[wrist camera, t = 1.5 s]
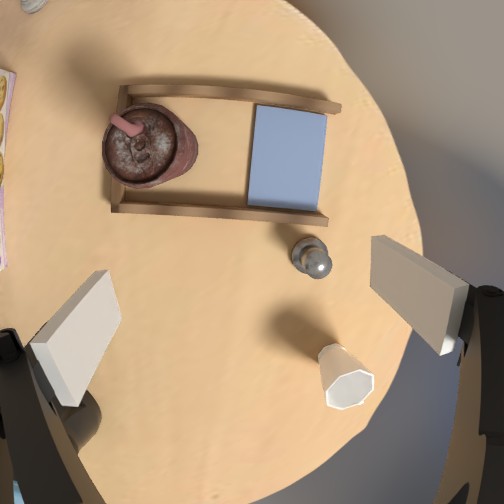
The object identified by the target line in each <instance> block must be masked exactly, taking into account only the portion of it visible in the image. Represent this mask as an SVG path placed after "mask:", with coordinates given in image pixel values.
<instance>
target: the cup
mask: <svg viewBox="0 0 504 504" xmlns="http://www.w3.org/2000/svg"><path fill="white" fill-rule="evenodd" d="M318 362H319V365H320V373H321V381H322V385H323V390H324V395H325V400H326V404H327V406H330V407H334V408H337V409H340V410H343V409H346V408H349V407H352V406H354V405H357V404H359V405H360V404H362V403H363V402H364V401H363V400H364V399H365V398H366V397H367V396H368V395H369V394H370V393H371V392H372V391H373V389H374V375H373V374H372V373H371V372H370V371H369V370H368V369H367V368H366V367H365V366H364V365H363V364H362V363H361V362H360V361H359V360H358V359H357V358H356V357H355V356H354V355H352V354H351V353H349V352H348V351H346V350H345V348H344V347H343V346H341V345H339V344H337V343H334V344H331V345H328V346H325V347H324V348H323V349H322V350H321V352H320V353H319V354H318Z"/></svg>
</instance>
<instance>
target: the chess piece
mask: <svg viewBox="0 0 504 504" xmlns="http://www.w3.org/2000/svg"><path fill="white" fill-rule="evenodd" d="M47 1H48V0H21V2H22V3H21V8H22V10H24V11H25V12H26V13H28V14H32V13H35V12H37V11H39V10H40V9H41V8H42V7H44V5H45V4H46V3H47Z"/></svg>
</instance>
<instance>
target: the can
mask: <svg viewBox="0 0 504 504" xmlns="http://www.w3.org/2000/svg"><path fill="white" fill-rule="evenodd" d="M110 122H111V123H110V124H109V126H108V127H107V129H106V131H105V134H104V138H103V141H102V156H103V159H104V162H105V165H106V168H107V170H108V171H109V172H110V174H111V175H112V176H113V178H114V179H116V180H117V181H119V182H120V183H121V184H123V185H125V186H128V187H132V188H135V189H141V188H151V187H153V186H156V185H159V184H161V183H164V182H166V181H168V180H171V179H173V178H175V177H178V176H180V175H183V174H184V173H185V172H187V171H188V170H189V169H190V168H191V167H192V166H193V164H194V163H195V161H196V158H197V155H198V143H197V139H196V136H195V135H194V134H193V132H192V131H191V130H190V129H189V128H188V127H187V126H186V125H185V124H184V123H183V122H182V121H181V120H180V119H179V118H178V117H177V116H176V115H175V114H174V113H172V112H171V111H169V110H168V109H166V108H165V107H163V106H161V105H157V104H153V103H141V104H135V105H133V106H130V107H128V108H126V109H124V110H123V111H121V112H120V113H119V114H118V115H117V114H115V113H113V114H111V116H110Z"/></svg>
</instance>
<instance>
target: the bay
mask: <svg viewBox="0 0 504 504" xmlns="http://www.w3.org/2000/svg"><path fill="white" fill-rule="evenodd" d="M132 97H192V98H212V99H227V100H238V101H249V102H258V103H266V104H274V105H282V106H289V107H295V108H301V109H307V110H313V111H319V112H324V113H329V114H334V115H335V114H337V113H340V112H341V104H339V103H335V102H330V101H325V100H320V99H315V98H309V97H303V96H297V95H291V94H285V93H278V92H270V91H262V90H254V89H244V88H233V87H220V86H203V85H125V86H120V90H119V97H118V105H117V115H118V114H119V113H120V112H121V111H123V110H124V109H126V108H128V107H130V106H131V105H132ZM111 213H135V214H156V215H175V216H192V217H208V218H223V219H238V220H252V221H265V222H277V223H290V224H301V225H313V226H324V227H328V221H329V218H328V217H326V216H324V215H320V214H310V213H300V212H289V211H278V210H266V209H254V208H241V207H227V206H212V205H196V204H178V203H158V202H135V201H125V185H123V184H121V183H120V182H119V181H117V180H116V179H114V178H113V176H112V183H111Z"/></svg>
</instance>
